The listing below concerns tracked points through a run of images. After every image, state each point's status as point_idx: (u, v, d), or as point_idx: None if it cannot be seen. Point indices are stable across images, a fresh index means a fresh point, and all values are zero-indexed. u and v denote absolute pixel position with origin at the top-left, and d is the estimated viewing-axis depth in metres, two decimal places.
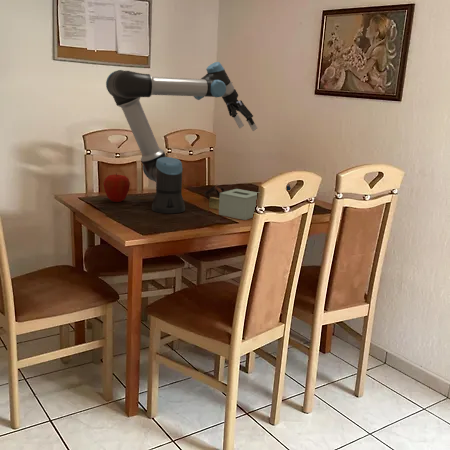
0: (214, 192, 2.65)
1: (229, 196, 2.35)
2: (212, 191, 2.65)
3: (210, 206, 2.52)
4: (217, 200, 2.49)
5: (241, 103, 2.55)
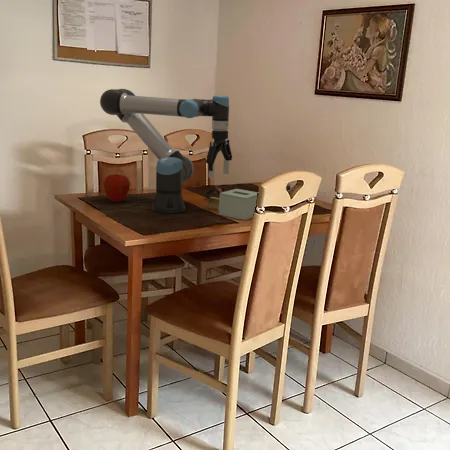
0: (215, 192, 2.64)
1: (229, 196, 2.35)
2: (213, 191, 2.64)
3: (210, 206, 2.52)
4: (217, 200, 2.49)
5: (213, 144, 2.39)
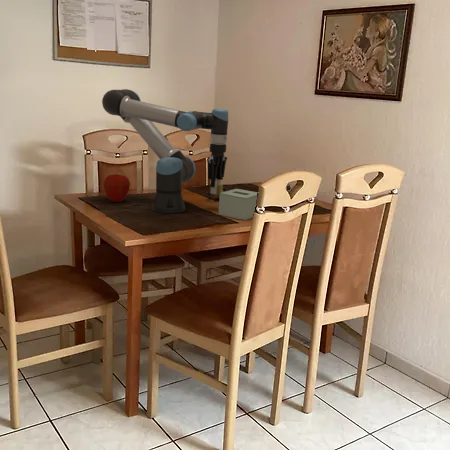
0: None
1: (229, 196, 2.35)
2: None
3: (210, 192, 2.50)
4: (217, 186, 2.47)
5: (210, 162, 2.41)
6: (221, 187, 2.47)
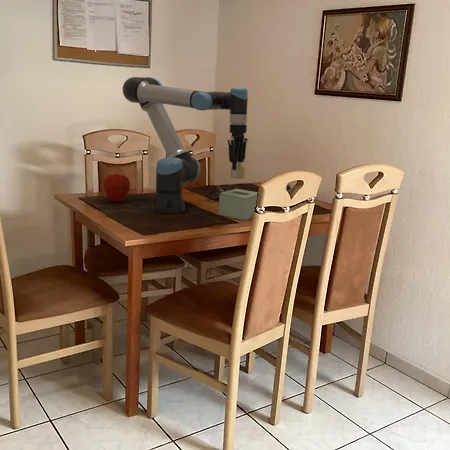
0: (217, 193, 2.63)
1: (229, 196, 2.35)
2: (215, 192, 2.63)
3: None
4: (239, 169, 2.37)
5: (231, 143, 2.31)
6: (243, 169, 2.37)
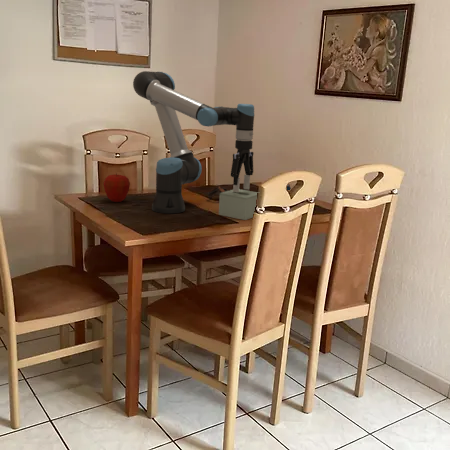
0: (218, 193, 2.63)
1: (229, 196, 2.35)
2: (216, 192, 2.63)
3: None
4: None
5: (236, 157, 2.30)
6: None
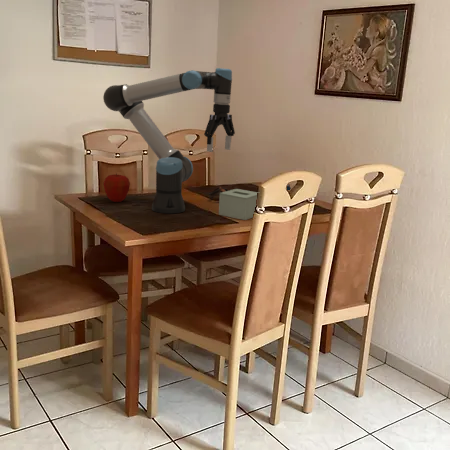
0: (219, 193, 2.62)
1: (229, 196, 2.35)
2: (217, 192, 2.62)
3: None
4: None
5: (212, 117, 2.36)
6: None
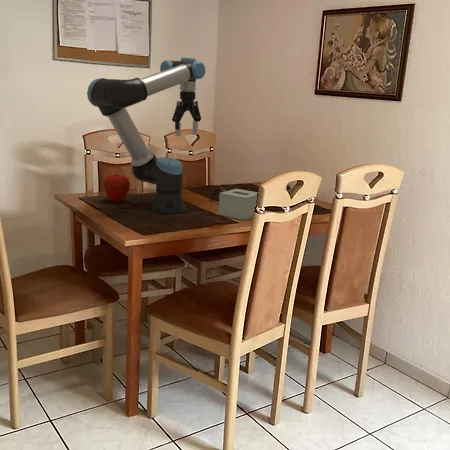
0: None
1: (229, 196, 2.35)
2: (218, 193, 2.62)
3: None
4: None
5: (179, 103, 2.52)
6: None
